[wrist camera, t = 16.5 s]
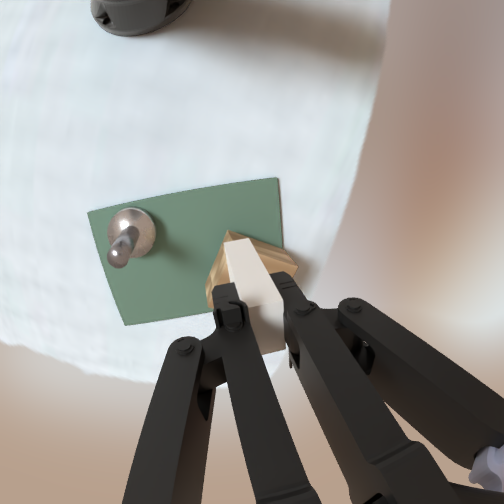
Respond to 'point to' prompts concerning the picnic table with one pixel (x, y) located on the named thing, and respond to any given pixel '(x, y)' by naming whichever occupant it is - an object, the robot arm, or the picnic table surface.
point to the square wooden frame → (268, 254)
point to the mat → (185, 246)
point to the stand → (130, 235)
